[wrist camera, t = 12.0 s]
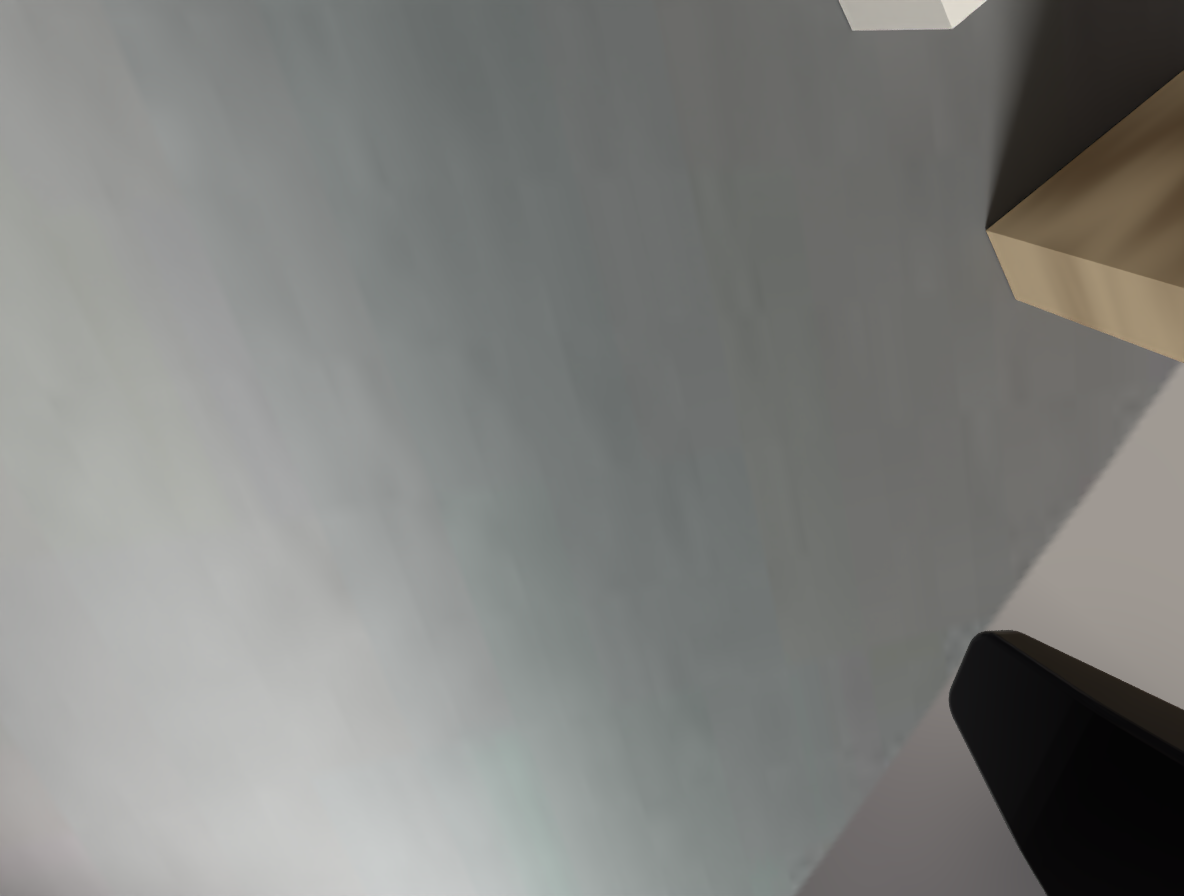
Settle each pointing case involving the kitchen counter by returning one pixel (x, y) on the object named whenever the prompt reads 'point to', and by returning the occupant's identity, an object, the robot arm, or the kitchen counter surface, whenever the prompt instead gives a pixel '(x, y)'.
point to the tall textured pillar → (1109, 232)
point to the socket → (907, 13)
